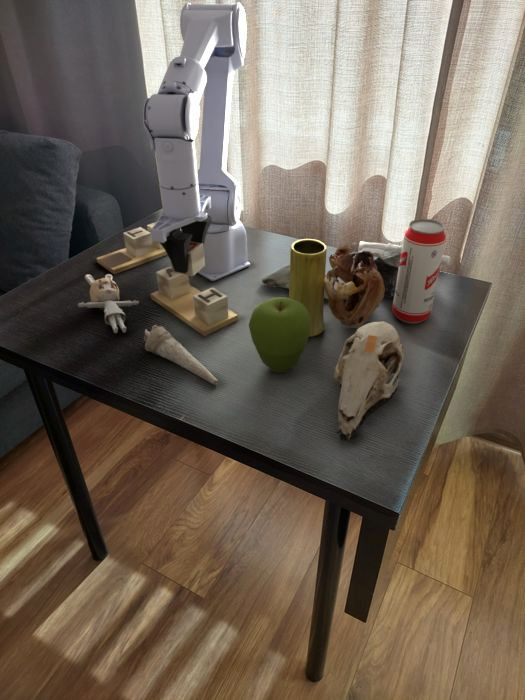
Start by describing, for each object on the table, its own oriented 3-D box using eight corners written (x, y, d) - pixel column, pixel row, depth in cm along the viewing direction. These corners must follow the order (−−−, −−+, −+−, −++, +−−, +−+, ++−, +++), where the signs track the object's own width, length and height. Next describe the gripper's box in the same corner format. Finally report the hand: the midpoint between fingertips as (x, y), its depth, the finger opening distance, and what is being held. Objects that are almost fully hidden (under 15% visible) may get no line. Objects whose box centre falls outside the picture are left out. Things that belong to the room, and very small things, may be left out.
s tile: (171, 271, 85) (168, 248, 83) (184, 261, 88) (181, 238, 86) (193, 276, 84) (190, 253, 81) (205, 265, 87) (203, 242, 84)
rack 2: (151, 298, 94) (146, 273, 91) (183, 285, 97) (180, 260, 94) (204, 336, 84) (201, 309, 81) (238, 319, 88) (236, 293, 85)
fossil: (328, 298, 86) (262, 261, 93) (322, 321, 89) (258, 283, 96) (365, 280, 93) (301, 247, 101) (358, 302, 96) (296, 268, 103)
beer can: (432, 310, 89) (451, 221, 79) (425, 329, 84) (444, 237, 75) (396, 302, 91) (410, 214, 82) (387, 320, 87) (401, 230, 77)
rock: (390, 311, 93) (434, 280, 94) (389, 287, 87) (436, 254, 88) (362, 285, 97) (404, 256, 99) (359, 260, 91) (404, 229, 93)
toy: (89, 322, 80) (68, 264, 89) (85, 347, 83) (66, 288, 92) (153, 318, 85) (128, 264, 94) (148, 342, 89) (124, 287, 97)
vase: (304, 312, 89) (306, 234, 80) (332, 326, 85) (338, 246, 77) (279, 327, 85) (279, 246, 77) (307, 342, 82) (310, 260, 73)
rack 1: (164, 238, 114) (161, 216, 110) (182, 249, 109) (180, 226, 106) (97, 262, 105) (91, 238, 102) (114, 274, 101) (109, 250, 98)
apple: (297, 345, 82) (299, 280, 75) (318, 378, 75) (322, 310, 68) (243, 356, 79) (240, 291, 73) (261, 391, 73) (259, 323, 66)
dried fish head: (396, 329, 77) (372, 266, 74) (341, 348, 80) (315, 287, 77) (393, 285, 96) (373, 233, 92) (348, 301, 99) (327, 251, 95)
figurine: (358, 249, 99) (456, 263, 95) (361, 229, 99) (460, 243, 96) (356, 262, 106) (448, 275, 102) (360, 243, 106) (451, 256, 103)
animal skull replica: (309, 433, 66) (313, 372, 60) (352, 358, 78) (358, 301, 72) (372, 454, 63) (382, 392, 57) (406, 373, 75) (418, 315, 69)
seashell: (153, 318, 82) (225, 333, 73) (158, 359, 85) (229, 378, 76) (132, 326, 79) (204, 343, 70) (138, 368, 82) (209, 389, 73)
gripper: (176, 203, 71) (186, 291, 79) (225, 171, 81) (230, 250, 89) (132, 196, 73) (147, 282, 81) (186, 165, 84) (194, 244, 92)
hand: (188, 265), depth 86 cm, fingers closed on s tile, 4 cm apart
